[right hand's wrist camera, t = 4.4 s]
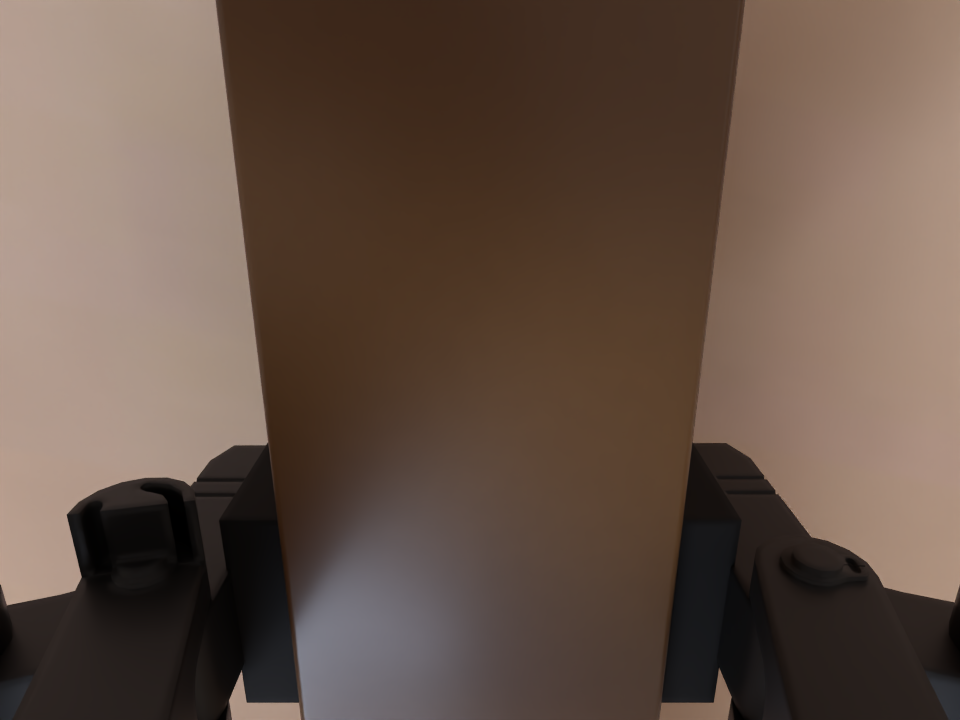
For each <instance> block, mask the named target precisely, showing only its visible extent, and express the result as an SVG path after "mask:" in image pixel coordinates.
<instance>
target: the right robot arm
mask: <svg viewBox="0 0 960 720" xmlns="http://www.w3.org/2000/svg"><path fill="white" fill-rule="evenodd" d="M67 518H68V522H69V526H70V530H71V535H72V539H73V543H74V547H75V551H76V555H77V559H78V563H79V568H80V572H81V576H82V578H81V580H80V582H79V584H78V586H77V588H76V590H75V591H73V592H69V593H65V594H62V595H57V596H52V597H47V598H42V599H37V600H32V601H27V602H22V603H17V604H12V605H6V601H5V598H4V594H3V591H2V588H1V585H0V720H232V717H231V710H230V704H229V699H230V696H231V694H232V692H233V689H234V687H235V684H236V682H237V680H238V677H239V675H240V673H241V670H242V674H243V681H244V687H245V694H246V700H247V703H299V696H298V688H297V679H296V671H295V663H294V654H293V646H292V637H291V629H290V621H289V612H288V604H287V596H286V587H285V579H284V570H283V562H282V554H281V545H280V537H279V528H278V520H277V512H276V503H275V495H274V486H273V478H272V470H271V461H270V453H269V444H268V443H267V445H266V446H233V447H231V448H230V449H228V450H227V451H225V452H223V453H222V454H220V455H219V456H217V457H215V458H214V459H212V460H211V461H210V462H209V463H208V464H207V466H206V467H205V468H204V470H203V471H202V472H201V474H200V475H199V476H198V478H197V482H194V483H193V484H192V485H191V487H190V486H189V485H188V484H186V483H185V482H184V481H179V480H175V479H171V478H143V479H137V480H132V481H127V482H122V483H119V484H116V485H113V486H110V487H108V488H105V489H102V490H99V491H97V492H95V493H94V494H92V495H90V496H89V497H87V498H85V499H83V500H82V501H80V502H79V503H78V504H77V505H76V506H75V507H74V508H73V509H72V510H71V511H70V512H69V513H68V514H67ZM719 668H720V670H721V673H722V675H723V677H724V680H725V682H726V684H727V687H728V689H729V691H730V694H731V696H732V698H731V704H730V710H729V716H728V720H960V586H959V590H958V593H957V596H956V600H955V603H954V602H949V601H944V600H939V599H934V598H929V597H924V596H919V595H914V594H909V593H904V592H899V591H896V590H892V589H888V588H884V587H883V585H882V583H881V581H880V579H879V577H878V576H877V574H876V573H875V572H874V571H873V569H872V568H871V567H870V566H869V564H868V563H867V562H866V561H864V560H863V559H861V558H860V557H858V556H857V555H855V554H854V553H852V552H851V551H849V550H848V549H845V548H843V547H840V546H838V545H836V544H833V543H831V542H828V541H826V540H821V539H817V538H812V537H811V536H810V535H809V534H808V532H807V531H806V530H805V528H804V527H803V526H802V525H801V523H800V522H799V521H798V519H797V518H796V517H795V516H794V514H793V513H792V512H791V510H790V509H789V508H788V506H787V505H786V504H785V503H784V501H783V500H782V499H781V497H780V496H779V495H778V494H775V490H774V488H773V487H772V486H771V484H770V483H769V482H768V481H767V479H764V475H763V474H762V473H761V471H760V470H759V469H758V468H757V466H756V465H755V464H754V462H753V461H752V460H751V458H749V457H747V456H746V455H744V454H743V453H741V452H739V451H738V450H736V449H735V448H733V447H731V446H730V445H728V444H727V443H692V450H691V458H690V466H689V475H688V483H687V491H686V500H685V508H684V517H683V525H682V533H681V542H680V550H679V558H678V567H677V575H676V583H675V592H674V600H673V609H672V617H671V625H670V634H669V642H668V650H667V659H666V667H665V676H664V684H663V692H662V701H661V703H714V697H715V690H716V684H717V677H718V671H719Z"/></svg>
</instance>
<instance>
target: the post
mask: <svg viewBox="0 0 960 720" xmlns="http://www.w3.org/2000/svg"><path fill="white" fill-rule="evenodd" d="M744 6H745V0H216V8H217V16H218V25H219V33H220V42H221V50H222V58H223V67H224V75H225V83H226V92H227V100H228V109H229V117H230V125H231V134H232V142H233V151H234V159H235V167H236V176H237V184H238V193H239V201H240V209H241V218H242V226H243V235H244V243H245V251H246V260H247V268H248V277H249V285H250V293H251V302H252V310H253V319H254V327H255V335H256V344H257V352H258V360H259V369H260V377H261V386H262V394H263V402H264V411H265V419H266V428H267V436H268V444H269V453H270V461H271V470H272V478H273V486H274V495H275V503H276V512H277V520H278V528H279V537H280V545H281V554H282V562H283V570H284V579H285V587H286V596H287V604H288V612H289V621H290V629H291V637H292V646H293V654H294V663H295V671H296V679H297V688H298V696H299V705H300V713H301V720H659V717H660V709H661V701H662V692H663V684H664V676H665V667H666V659H667V650H668V642H669V634H670V625H671V617H672V609H673V600H674V592H675V583H676V575H677V567H678V558H679V550H680V542H681V533H682V525H683V517H684V508H685V500H686V491H687V483H688V475H689V466H690V458H691V450H692V441H693V433H694V424H695V416H696V408H697V399H698V391H699V383H700V374H701V366H702V357H703V349H704V341H705V332H706V324H707V316H708V307H709V299H710V291H711V282H712V274H713V265H714V257H715V249H716V240H717V232H718V224H719V215H720V207H721V198H722V190H723V182H724V173H725V165H726V157H727V148H728V140H729V131H730V123H731V115H732V106H733V98H734V90H735V81H736V73H737V65H738V56H739V48H740V39H741V31H742V23H743V14H744Z"/></svg>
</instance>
